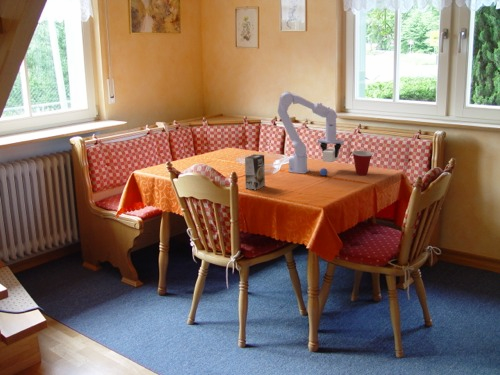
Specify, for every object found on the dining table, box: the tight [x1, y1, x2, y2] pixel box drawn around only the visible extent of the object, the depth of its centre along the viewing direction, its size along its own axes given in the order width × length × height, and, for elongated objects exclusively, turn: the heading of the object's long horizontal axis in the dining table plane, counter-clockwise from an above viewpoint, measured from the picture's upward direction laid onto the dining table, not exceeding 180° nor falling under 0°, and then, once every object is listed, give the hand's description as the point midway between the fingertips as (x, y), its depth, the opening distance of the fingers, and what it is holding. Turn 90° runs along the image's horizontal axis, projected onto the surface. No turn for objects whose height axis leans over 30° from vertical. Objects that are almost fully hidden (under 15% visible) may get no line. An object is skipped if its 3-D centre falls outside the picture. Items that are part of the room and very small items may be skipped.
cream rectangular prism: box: [322, 147, 340, 163], centre depth 337 cm, size 6×10×5 cm, turn 153°
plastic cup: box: [351, 150, 374, 176], centre depth 330 cm, size 11×11×12 cm
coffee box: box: [244, 153, 266, 191], centre depth 311 cm, size 9×6×16 cm
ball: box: [319, 167, 328, 177], centre depth 330 cm, size 4×4×4 cm
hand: (330, 156), depth 338 cm, fingers closed on cream rectangular prism, 6 cm apart
